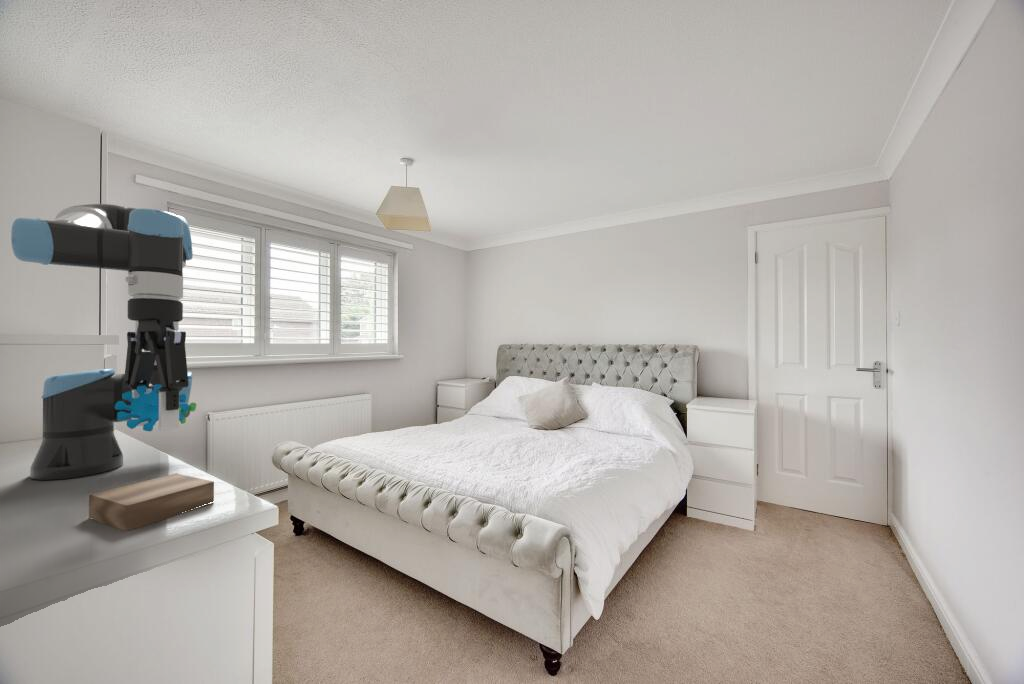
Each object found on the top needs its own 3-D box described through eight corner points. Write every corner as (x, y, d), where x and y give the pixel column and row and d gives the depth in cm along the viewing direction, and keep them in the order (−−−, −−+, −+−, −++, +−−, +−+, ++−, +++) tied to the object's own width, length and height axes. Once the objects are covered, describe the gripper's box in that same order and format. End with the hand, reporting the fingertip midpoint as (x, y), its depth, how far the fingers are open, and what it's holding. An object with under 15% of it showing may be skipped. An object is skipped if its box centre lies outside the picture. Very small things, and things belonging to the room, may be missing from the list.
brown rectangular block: (88, 518, 72) (89, 494, 72) (176, 493, 83) (176, 473, 83) (126, 531, 67) (126, 505, 67) (213, 503, 78) (213, 481, 79)
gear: (107, 425, 68) (123, 379, 75) (107, 446, 71) (122, 400, 78) (192, 427, 75) (200, 384, 81) (188, 446, 78) (196, 404, 84)
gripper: (99, 299, 76) (97, 426, 76) (164, 293, 68) (163, 436, 67) (149, 303, 83) (147, 419, 83) (214, 298, 74) (213, 428, 74)
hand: (154, 426), depth 75 cm, fingers closed on gear, 8 cm apart
